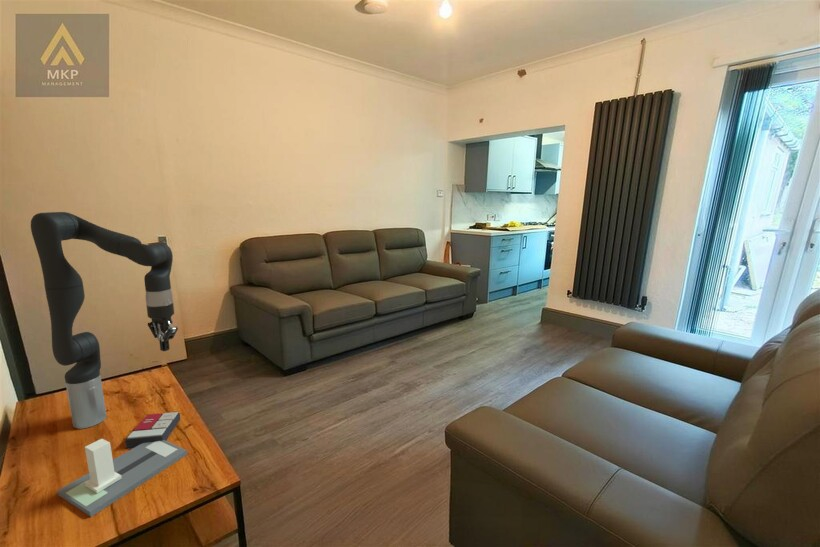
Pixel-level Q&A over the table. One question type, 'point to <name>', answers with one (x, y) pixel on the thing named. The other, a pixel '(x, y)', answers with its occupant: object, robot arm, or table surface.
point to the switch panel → (123, 475)
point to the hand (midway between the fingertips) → (165, 350)
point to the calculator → (153, 429)
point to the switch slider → (100, 466)
